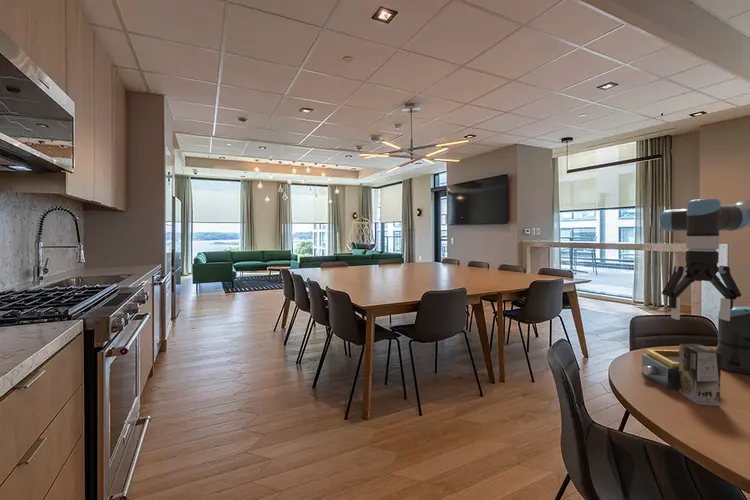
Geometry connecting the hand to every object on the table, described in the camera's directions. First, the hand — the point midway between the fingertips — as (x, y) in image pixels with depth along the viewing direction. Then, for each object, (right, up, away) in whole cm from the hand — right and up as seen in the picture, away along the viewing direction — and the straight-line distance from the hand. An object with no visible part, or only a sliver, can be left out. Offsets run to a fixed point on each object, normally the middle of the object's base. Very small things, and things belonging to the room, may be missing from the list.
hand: (699, 319), depth 112 cm
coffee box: (+1, -25, +1) cm, 25 cm away
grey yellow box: (+3, -24, +14) cm, 28 cm away
